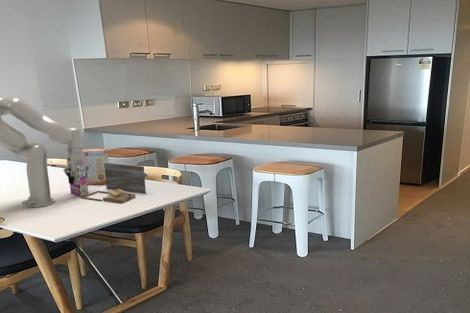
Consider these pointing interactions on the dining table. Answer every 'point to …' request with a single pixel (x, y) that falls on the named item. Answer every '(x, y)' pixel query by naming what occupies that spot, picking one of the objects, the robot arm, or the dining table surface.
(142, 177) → the rack
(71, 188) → the candy bar box
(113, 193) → the offcut top
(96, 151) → the cracker box
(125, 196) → the offcut middle
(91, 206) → the dining table surface
